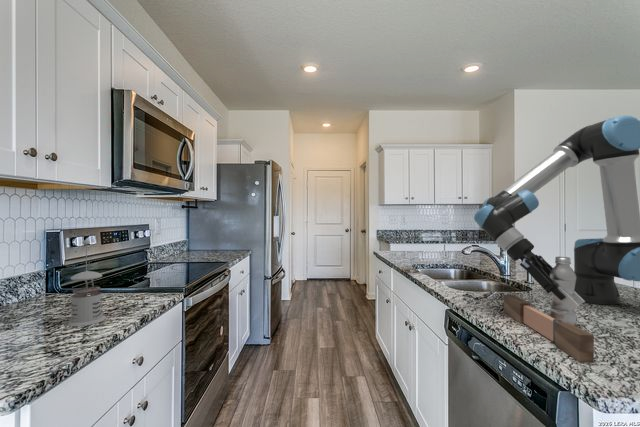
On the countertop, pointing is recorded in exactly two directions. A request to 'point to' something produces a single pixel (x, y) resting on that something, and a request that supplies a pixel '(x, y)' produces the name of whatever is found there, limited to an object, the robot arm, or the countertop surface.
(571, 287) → the plastic bottle
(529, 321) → the gate
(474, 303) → the countertop surface
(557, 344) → the row of wooden blocks
